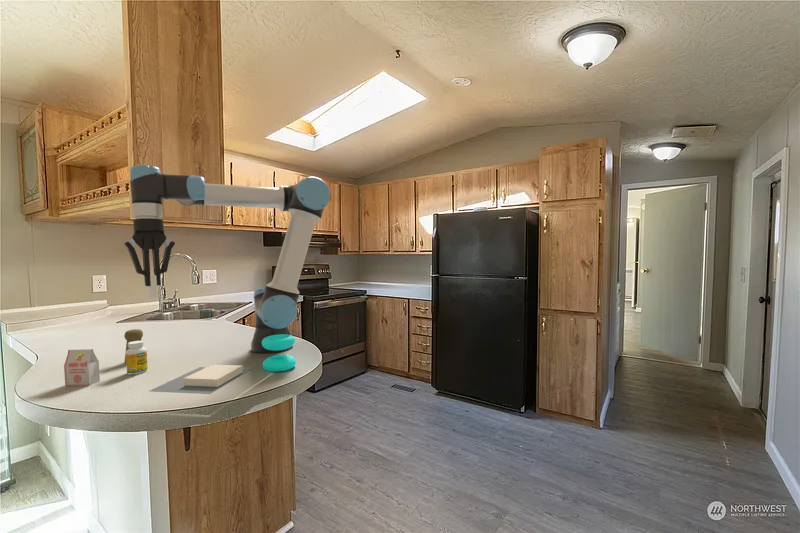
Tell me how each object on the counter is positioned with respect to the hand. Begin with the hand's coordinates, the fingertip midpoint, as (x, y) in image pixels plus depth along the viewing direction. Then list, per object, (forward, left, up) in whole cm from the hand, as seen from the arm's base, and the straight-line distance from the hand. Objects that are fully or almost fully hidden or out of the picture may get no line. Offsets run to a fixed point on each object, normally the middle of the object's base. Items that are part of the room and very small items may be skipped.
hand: (153, 296), depth 113 cm
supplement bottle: (+4, -7, -24) cm, 25 cm away
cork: (+2, -22, -24) cm, 33 cm away
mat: (-8, +17, -24) cm, 31 cm away
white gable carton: (+17, -7, -24) cm, 30 cm away
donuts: (-28, +23, -24) cm, 44 cm away
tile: (-7, +16, -22) cm, 28 cm away
